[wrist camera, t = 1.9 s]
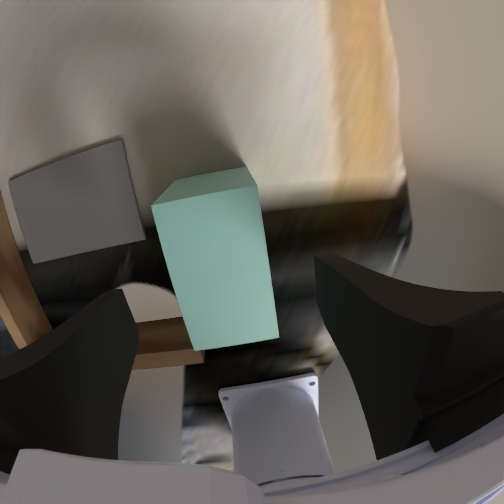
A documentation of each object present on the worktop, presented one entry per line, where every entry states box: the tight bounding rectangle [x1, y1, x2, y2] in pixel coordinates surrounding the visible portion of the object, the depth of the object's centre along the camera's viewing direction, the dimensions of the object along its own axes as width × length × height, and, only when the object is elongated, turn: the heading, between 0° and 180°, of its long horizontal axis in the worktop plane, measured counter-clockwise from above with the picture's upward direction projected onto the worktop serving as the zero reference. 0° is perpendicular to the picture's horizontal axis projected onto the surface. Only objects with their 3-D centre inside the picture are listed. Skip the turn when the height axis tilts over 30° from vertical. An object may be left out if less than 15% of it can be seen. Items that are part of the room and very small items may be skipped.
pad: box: [8, 139, 147, 264], centre depth 16 cm, size 6×9×1 cm, turn 99°
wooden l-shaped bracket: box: [0, 192, 205, 370], centre depth 16 cm, size 15×14×4 cm
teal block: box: [151, 166, 279, 351], centre depth 15 cm, size 7×4×6 cm, turn 9°
